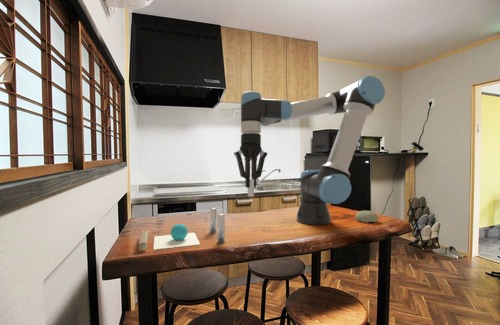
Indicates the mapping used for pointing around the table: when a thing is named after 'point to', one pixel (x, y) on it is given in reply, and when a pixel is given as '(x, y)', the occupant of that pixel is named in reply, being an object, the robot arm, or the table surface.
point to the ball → (179, 232)
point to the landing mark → (174, 241)
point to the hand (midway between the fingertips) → (250, 196)
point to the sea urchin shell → (366, 216)
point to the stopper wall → (143, 241)
